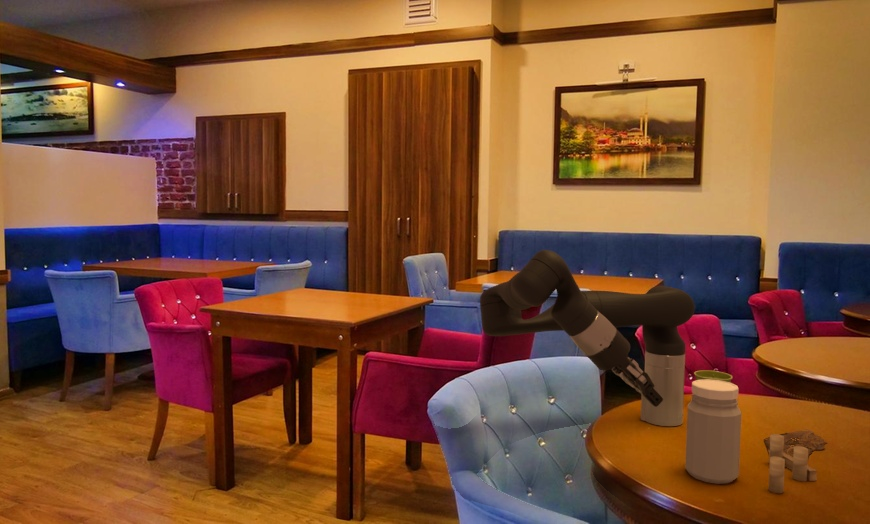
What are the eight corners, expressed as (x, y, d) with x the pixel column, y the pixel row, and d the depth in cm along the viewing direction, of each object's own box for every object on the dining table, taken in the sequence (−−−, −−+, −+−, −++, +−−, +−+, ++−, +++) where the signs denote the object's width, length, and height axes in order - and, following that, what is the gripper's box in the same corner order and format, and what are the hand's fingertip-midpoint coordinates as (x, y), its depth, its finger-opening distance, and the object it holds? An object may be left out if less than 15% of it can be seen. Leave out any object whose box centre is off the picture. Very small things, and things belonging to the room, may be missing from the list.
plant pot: (731, 404, 172) (732, 372, 171) (731, 413, 163) (732, 380, 163) (693, 399, 176) (695, 368, 175) (692, 409, 167) (693, 376, 167)
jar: (712, 489, 118) (716, 393, 116) (673, 469, 127) (676, 380, 125) (750, 480, 122) (754, 388, 120) (710, 462, 131) (713, 376, 129)
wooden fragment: (801, 467, 129) (801, 462, 129) (745, 452, 137) (745, 448, 137) (840, 439, 146) (840, 434, 146) (788, 427, 154) (789, 423, 154)
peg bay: (774, 493, 116) (775, 461, 116) (717, 456, 134) (718, 428, 134) (833, 490, 117) (835, 459, 117) (769, 453, 136) (770, 426, 135)
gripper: (572, 346, 126) (629, 406, 128) (598, 362, 112) (660, 428, 115) (599, 319, 126) (655, 379, 128) (627, 332, 113) (690, 398, 115)
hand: (658, 402), depth 122 cm, fingers closed
